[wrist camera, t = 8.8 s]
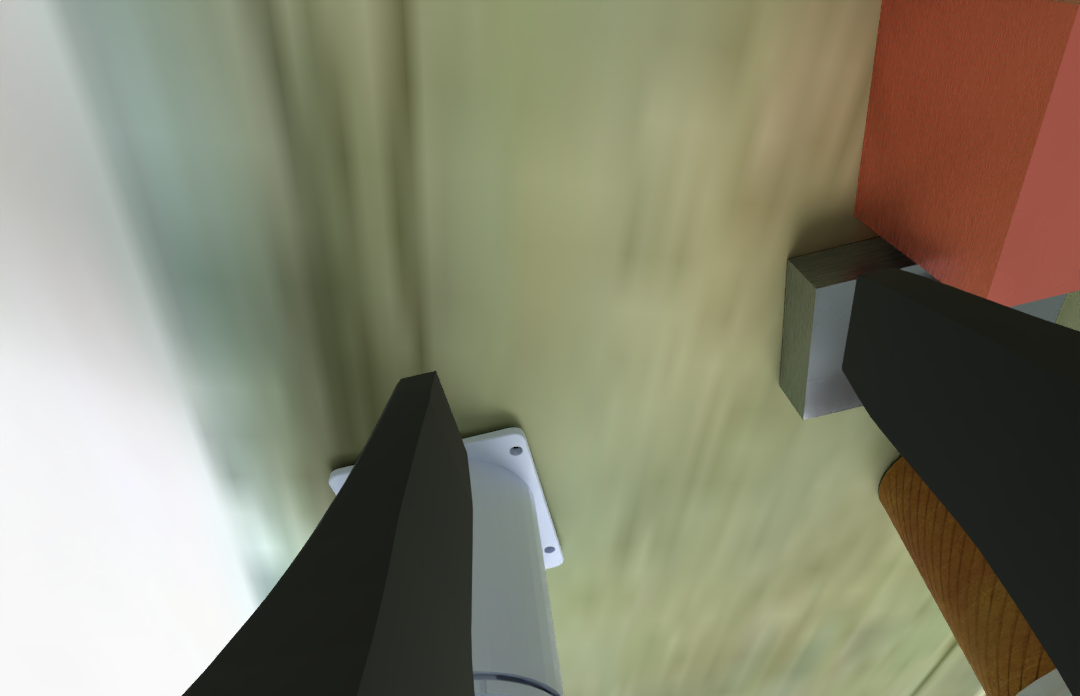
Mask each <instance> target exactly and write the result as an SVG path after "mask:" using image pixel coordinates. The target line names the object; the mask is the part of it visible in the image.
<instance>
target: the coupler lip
mask: <svg viewBox="0 0 1080 696" xmlns="http://www.w3.org/2000/svg"><path fill="white" fill-rule="evenodd" d="M889 268H897V269H901V270H904V271H908V272H911V273H914V274H917V275H920V276H923V277H926V278H929V279H932V280H935V281H938V282H940V281H939V280H937V279H936V278H935V277H933V276H932V275H931V274H929V273H928V272H927V271H926V270H924V269H923V268H922V267H920V266H919V265H918V264H916V263H915V262H914V261H912V260H911V259H910V258H908V257H907V256H906V255H905V254H903V253H902V252H901V251H899V250H898V249H897V248H895V247H894V246H893V245H891V244H890V243H889V242H887V241H886V240H885V239H884V238H882V237H877V238H873V239H869V240H865V241H861V242H857V243H852V244H848V245H844V246H840V247H836V248H832V249H828V250H824V251H820V252H815V253H811V254H807V255H803V256H799V257H795V258H791V259H788V261H787V277H786V293H785V309H784V324H783V340H782V356H781V372H780V387H781V389H782V390H783V392H784V393H785V394H786V396H787V397H788V399H789V400H790V402H791V403H792V405H793V406H794V407H795V409H796V410H797V412H798V413H799V415H800V416H801V417H802V419H803V420H805V419H809V418H813V417H818V416H822V415H826V414H830V413H835V412H839V411H843V410H847V409H851V408H856V407H860V406H863V404H862V403H861V401H860V399H859V398H858V396H857V395H856V393H855V391H854V390H853V388H852V386H851V384H850V383H849V381H848V379H847V378H846V376H845V374H844V372H843V371H842V363H843V357H844V351H845V345H846V339H847V333H848V328H849V322H850V316H851V310H852V304H853V298H854V292H855V286H856V280H857V276H858V275H862V274H867V273H871V272H876V271H880V270H884V269H889ZM1066 294H1067V293H1066ZM1066 294H1062V295H1058V296H1053V297H1049V298H1045V299H1041V300H1037V301H1033V302H1029V303H1024V304H1020V305H1016V306H1012V307H1010V308H1013V309H1016V310H1018V311H1021V312H1024V313H1027V314H1030V315H1032V316H1035V317H1038V318H1041V319H1044V320H1047V321H1050V322H1053V323H1055V321H1056V318H1057V316H1058V314H1059V311H1060V309H1061V306H1062V304H1063V301H1064V299H1065V297H1066Z"/></svg>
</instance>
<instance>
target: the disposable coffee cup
mask: <svg viewBox="0 0 1080 696" xmlns="http://www.w3.org/2000/svg"><path fill="white" fill-rule="evenodd" d="M879 499H880V501H881V503H882V505H883V506H884V508H885V510H886V512H887V514H888V515H889V517H890V519H891V521H892V523H893V525H894V526H895V528H896V530H897V532H898V534H899V536H900V537H901V539H902V541H903V543H904V545H905V547H906V548H907V550H908V552H909V554H910V556H911V557H912V559H913V561H914V563H915V565H916V567H917V568H918V570H919V572H920V574H921V576H922V578H923V579H924V581H925V583H926V585H927V587H928V589H929V591H930V592H931V594H932V596H933V598H934V600H935V602H936V603H937V605H938V607H939V609H940V611H941V612H942V614H943V616H944V618H945V620H946V621H947V623H948V625H949V627H950V629H951V631H952V633H953V634H954V636H955V638H956V640H957V642H958V644H959V646H960V647H961V649H962V650H963V652H964V654H965V656H966V658H967V660H968V662H969V664H970V665H971V667H972V669H973V671H974V673H975V675H976V677H977V678H978V680H979V682H980V683H981V685H982V687H983V689H984V691H985V693H986V695H987V696H1072V694H1071V692H1070V691H1069V689H1068V687H1067V686H1066V684H1065V682H1064V681H1063V679H1062V677H1061V675H1060V674H1059V672H1058V670H1057V669H1056V667H1055V665H1054V664H1053V662H1052V661H1051V659H1050V657H1049V656H1048V654H1047V653H1046V651H1045V650H1044V648H1043V646H1042V645H1041V643H1040V642H1039V640H1038V639H1037V637H1036V635H1035V634H1034V632H1033V631H1032V629H1031V627H1030V626H1029V624H1028V623H1027V621H1026V620H1025V618H1024V616H1023V615H1022V613H1021V612H1020V610H1019V609H1018V607H1017V605H1016V604H1015V602H1014V601H1013V599H1012V598H1011V596H1010V595H1009V594H1008V592H1007V591H1006V589H1005V588H1004V586H1003V585H1002V583H1001V582H1000V580H999V579H998V577H997V576H996V574H995V573H994V571H993V570H992V568H991V567H990V565H989V564H988V562H987V561H986V560H985V558H984V557H983V555H982V554H981V552H980V551H979V549H978V548H977V547H976V545H975V544H974V543H973V541H972V540H971V539H970V537H969V536H968V535H967V534H966V532H965V531H964V530H963V528H962V527H961V526H960V524H959V523H958V522H957V521H956V520H955V518H954V517H953V516H952V515H951V514H950V512H949V511H948V510H947V509H946V508H945V506H944V505H943V504H942V503H941V502H940V500H939V499H938V498H937V497H936V496H935V494H934V493H933V492H932V491H931V490H930V488H929V487H928V486H927V485H926V484H925V482H924V481H923V480H922V479H921V478H920V476H919V475H918V474H917V473H916V472H915V471H914V469H913V468H912V467H911V466H910V465H909V463H908V462H907V461H906V460H905V459H904V457H903V456H902V457H901V458H900V459H898V460H897V461H896V462H895V463H894V464H893V465H892V466H891V468H890V469H889V470H888V471H887V472H886V474H885V476H884V477H883V479H882V481H881V484H880V487H879Z"/></svg>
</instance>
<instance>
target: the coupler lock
mask: <svg viewBox="0 0 1080 696" xmlns="http://www.w3.org/2000/svg"><path fill="white" fill-rule="evenodd" d="M854 216H855V217H856V218H857V219H859V220H860V221H861V222H863V223H864V224H865V225H866V226H868V227H869V228H870V229H872V230H873V231H874V232H876V233H877V234H878V235H880V236H881V237H882V238H884V239H885V240H886V241H887V242H889V243H890V244H891V245H893V246H894V247H895V248H897V249H898V250H899V251H901V252H902V253H903V254H905V255H906V256H907V257H908V258H910V259H911V260H912V261H914V262H915V263H916V264H918V265H919V266H920V267H922V268H923V269H924V270H926V271H927V272H928V273H929V274H931V275H932V276H933V277H935V278H936V279H937V280H939V281H940V282H941V283H944V284H947V285H949V286H952V287H955V288H958V289H960V290H963V291H966V292H969V293H971V294H974V295H977V296H980V297H982V298H985V299H988V300H991V301H993V302H996V303H999V304H1002V305H1004V306H1007V307H1012V306H1016V305H1020V304H1024V303H1029V302H1033V301H1037V300H1041V299H1045V298H1049V297H1053V296H1058V295H1062V294H1066V293H1070V292H1074V291H1078V290H1080V0H882V5H881V13H880V21H879V28H878V36H877V43H876V51H875V58H874V66H873V74H872V81H871V89H870V96H869V104H868V111H867V119H866V126H865V134H864V142H863V149H862V157H861V164H860V172H859V179H858V187H857V195H856V202H855V210H854Z"/></svg>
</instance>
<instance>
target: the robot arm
mask: <svg viewBox="0 0 1080 696" xmlns="http://www.w3.org/2000/svg"><path fill="white" fill-rule="evenodd" d="M842 371H843V372H844V374H845V376H846V378H847V379H848V381H849V383H850V384H851V386H852V388H853V390H854V391H855V393H856V395H857V396H858V398H859V399H860V401H861V403H862V404H863V406H864V407H865V409H866V410H867V412H868V414H869V415H870V417H871V418H872V419H873V421H874V422H875V423H876V424H877V426H878V427H879V428H880V429H881V431H882V432H883V433H884V434H885V435H886V437H887V438H888V439H889V440H890V442H891V443H892V444H893V445H894V446H895V448H896V449H897V450H898V451H899V453H900V454H901V455H902V456H903V457H904V459H905V460H906V461H907V462H908V463H909V465H910V466H911V467H912V468H913V469H914V471H915V472H916V473H917V474H918V475H919V476H920V478H921V479H922V480H923V481H924V482H925V484H926V485H927V486H928V487H929V488H930V490H931V491H932V492H933V493H934V494H935V496H936V497H937V498H938V499H939V500H940V502H941V503H942V504H943V505H944V506H945V508H946V509H947V510H948V511H949V512H950V514H951V515H952V516H953V517H954V518H955V520H956V521H957V522H958V523H959V524H960V526H961V527H962V528H963V530H964V531H965V532H966V534H967V535H968V536H969V537H970V539H971V540H972V541H973V543H974V544H975V545H976V547H977V548H978V549H979V551H980V552H981V554H982V555H983V557H984V558H985V560H986V561H987V562H988V564H989V565H990V567H991V568H992V570H993V571H994V573H995V574H996V576H997V577H998V579H999V580H1000V582H1001V583H1002V585H1003V586H1004V588H1005V589H1006V591H1007V592H1008V594H1009V595H1010V596H1011V598H1012V599H1013V601H1014V602H1015V604H1016V605H1017V607H1018V609H1019V610H1020V612H1021V613H1022V615H1023V616H1024V618H1025V620H1026V621H1027V623H1028V624H1029V626H1030V627H1031V629H1032V631H1033V632H1034V634H1035V635H1036V637H1037V639H1038V640H1039V642H1040V643H1041V645H1042V646H1043V648H1044V650H1045V651H1046V653H1047V654H1048V656H1049V657H1050V659H1051V661H1052V662H1053V664H1054V665H1055V667H1056V669H1057V670H1058V672H1059V674H1060V675H1061V677H1062V679H1063V681H1064V682H1065V684H1066V686H1067V687H1068V689H1069V691H1070V692H1071V694H1072V696H1080V332H1079V331H1076V330H1073V329H1070V328H1067V327H1064V326H1061V325H1058V324H1055V323H1053V322H1050V321H1047V320H1044V319H1041V318H1038V317H1035V316H1032V315H1030V314H1027V313H1024V312H1021V311H1018V310H1016V309H1013V308H1010V307H1007V306H1004V305H1002V304H999V303H996V302H993V301H991V300H988V299H985V298H982V297H980V296H977V295H974V294H971V293H969V292H966V291H963V290H960V289H958V288H955V287H952V286H949V285H947V284H944V283H941V282H938V281H935V280H932V279H929V278H926V277H923V276H920V275H917V274H914V273H911V272H908V271H904V270H901V269H897V268H889V269H884V270H880V271H876V272H871V273H867V274H862V275H858V276H857V280H856V286H855V292H854V298H853V304H852V310H851V316H850V322H849V328H848V333H847V339H846V345H845V351H844V357H843V363H842ZM517 446H518V447H519V448H514V449H513V447H517ZM329 485H330V487H331V488H332V490H333V491H334V493H335V494H336V497H335V499H334V500H333V502H332V503H331V505H330V507H329V508H328V510H327V511H326V513H325V515H324V516H323V518H322V519H321V521H320V522H319V524H318V526H317V527H316V529H315V530H314V532H313V533H312V535H311V536H310V538H309V539H308V541H307V542H306V544H305V545H304V547H303V548H302V549H301V551H300V552H299V554H298V555H297V557H296V558H295V559H294V561H293V562H292V564H291V565H290V566H289V568H288V569H287V570H286V572H285V573H284V575H283V576H282V577H281V579H280V580H279V581H278V583H277V584H276V585H275V587H274V588H273V589H272V591H271V592H270V593H269V595H268V596H267V597H266V598H265V600H264V601H263V602H262V603H261V605H260V606H259V607H258V608H257V610H256V611H255V612H254V613H253V614H252V616H251V617H250V618H249V619H248V620H247V621H246V623H245V624H244V625H243V626H242V627H241V629H240V630H239V631H238V632H237V633H236V634H235V636H234V637H233V638H232V639H231V640H230V642H229V643H228V644H227V645H226V646H225V647H224V649H223V650H222V651H221V652H220V653H219V655H218V656H217V657H216V658H215V659H214V661H213V662H212V663H211V664H210V665H209V666H208V668H207V669H206V670H205V671H204V672H203V673H202V674H201V675H200V676H199V678H198V679H197V680H196V681H195V682H194V683H193V684H192V685H191V686H190V687H189V688H188V690H187V691H186V692H185V693H184V694H183V695H182V696H564V692H563V685H562V678H561V672H560V665H559V658H558V651H557V645H556V638H555V631H554V624H553V618H552V611H551V604H550V598H549V591H548V584H547V577H546V571H545V569H548V568H552V567H556V566H559V565H560V564H561V563H562V562H563V560H564V558H563V553H562V550H561V546H560V543H559V540H558V537H557V534H556V531H555V527H554V524H553V521H552V518H551V515H550V512H549V509H548V505H547V502H546V499H545V496H544V493H543V490H542V486H541V483H540V480H539V477H538V474H537V471H536V468H535V464H534V461H533V458H532V455H531V452H530V449H529V445H528V442H527V439H526V436H525V433H524V432H523V430H521V429H520V428H516V427H512V428H506V429H502V430H498V431H494V432H490V433H486V434H481V435H477V436H473V437H469V438H465V439H462V438H461V435H460V433H459V430H458V428H457V425H456V422H455V420H454V417H453V414H452V412H451V409H450V406H449V404H448V401H447V399H446V396H445V393H444V391H443V388H442V385H441V383H440V380H439V378H438V375H437V372H436V371H434V372H429V373H425V374H420V375H416V376H412V377H407V378H403V379H400V381H399V382H398V384H397V385H396V387H395V389H394V391H393V393H392V395H391V397H390V399H389V401H388V403H387V405H386V407H385V409H384V411H383V413H382V415H381V417H380V419H379V421H378V423H377V424H376V426H375V428H374V430H373V432H372V434H371V436H370V438H369V440H368V442H367V443H366V445H365V447H364V449H363V451H362V452H361V454H360V456H359V458H358V459H357V461H356V463H355V465H352V466H348V467H344V468H339V469H336V470H334V471H333V472H332V473H331V474H330V478H329Z"/></svg>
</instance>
